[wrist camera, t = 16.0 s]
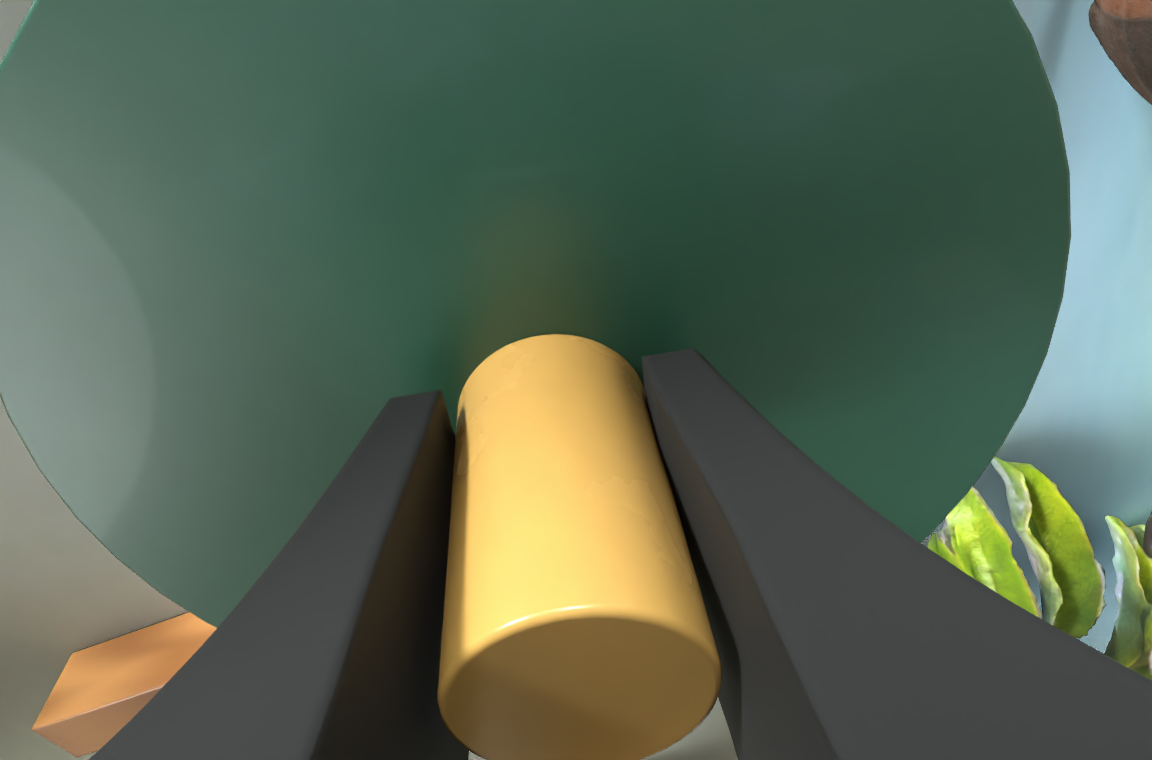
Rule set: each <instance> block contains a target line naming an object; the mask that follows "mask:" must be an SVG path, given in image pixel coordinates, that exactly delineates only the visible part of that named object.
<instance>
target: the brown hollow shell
mask: <svg viewBox="0 0 1152 760" xmlns="http://www.w3.org/2000/svg"><path fill="white" fill-rule="evenodd" d="M1089 22H1090V26H1091V29H1092V31H1093V32H1094V33H1095V35H1096V37H1097V38H1098V40H1099V42H1100V44H1101V46H1102V47H1103V49H1104V50H1105V52H1106V54H1107V55H1108V57H1109V58H1110V59H1111V61H1112V62H1113V63H1114V64H1115V66H1116V67H1117V68H1118V70H1119V72H1120V73H1121V74H1122V76H1123V77H1124V78H1125V79H1126V80H1127V81H1128V82H1129V84H1130V85H1131V86H1132V87H1133V88H1134V89H1135V90H1136V91H1137V92H1138V93H1139V94H1140V95H1141V96H1142V97H1143V98H1144V99H1145V100H1147V101H1148V102H1149V103H1150V104H1152V0H1095V1H1094V3H1093V4H1092V5H1091V8H1090V10H1089Z"/></svg>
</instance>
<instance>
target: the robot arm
mask: <svg viewBox="0 0 1152 760" xmlns="http://www.w3.org/2000/svg"><path fill="white" fill-rule="evenodd" d="M641 358H642V367H643V377H644V387H645V396H646V402H647V406H648V410H649V413H650V417H651V420H652V424H653V428H654V431H655V435H656V438H657V442H658V446H659V449H660V453H661V456H662V459H663V462H664V465H665V468H666V471H667V474H668V478H669V481H670V484H671V487H672V491H673V494H674V498H675V501H676V505H677V508H678V512H679V515H680V519H681V523H682V526H683V530H684V533H685V537H686V540H687V544H688V548H689V551H690V555H691V558H692V562H693V565H694V569H695V573H696V576H697V580H698V583H699V587H700V591H701V594H702V598H703V601H704V605H705V608H706V612H707V616H708V619H709V623H710V626H711V630H712V633H713V637H714V641H715V644H716V648H717V651H718V655H719V658H720V662H721V666H722V680H721V686H720V691H719V695H718V698H719V701H720V704H721V707H722V710H723V712H724V715H725V718H726V721H727V724H728V727H729V730H730V734H731V737H732V740H733V744H734V747H735V750H736V754H737V757H738V760H1152V680H1150V679H1148V678H1146V677H1144V676H1142V675H1140V674H1139V673H1137V672H1135V671H1133V670H1131V669H1129V668H1127V667H1126V666H1124V665H1122V664H1120V663H1118V662H1117V661H1115V660H1113V659H1111V658H1110V657H1108V656H1106V655H1104V654H1103V653H1101V652H1099V651H1097V650H1095V649H1094V648H1092V647H1090V646H1088V645H1087V644H1085V643H1083V642H1081V641H1080V640H1078V639H1076V638H1074V637H1072V636H1071V635H1069V634H1067V633H1065V632H1064V631H1062V630H1060V629H1058V628H1057V627H1055V626H1053V625H1051V624H1049V623H1048V622H1046V621H1044V620H1042V619H1041V618H1039V617H1037V616H1035V615H1034V614H1032V613H1030V612H1028V611H1026V610H1025V609H1023V608H1021V607H1019V606H1018V605H1016V604H1014V603H1013V602H1011V601H1009V600H1008V599H1006V598H1004V597H1003V596H1001V595H1000V594H998V593H996V592H995V591H993V590H992V589H990V588H988V587H987V586H985V585H984V584H982V583H980V582H979V581H977V580H976V579H974V578H972V577H971V576H969V575H968V574H966V573H965V572H963V571H962V570H960V569H959V568H957V567H956V566H954V565H953V564H951V563H950V562H948V561H947V560H945V559H944V558H942V557H941V556H939V555H938V554H936V553H935V552H933V551H932V550H930V549H929V548H927V547H926V546H924V545H923V544H921V543H920V542H918V541H917V540H916V539H914V538H913V537H911V536H910V535H909V534H907V533H906V532H904V531H903V530H902V529H900V528H899V527H897V526H896V525H895V524H893V523H892V522H891V521H889V520H888V519H887V518H885V517H884V516H882V515H881V514H880V513H878V512H877V511H876V510H874V509H873V508H872V507H870V506H869V505H868V504H867V503H865V502H864V501H863V500H861V499H860V498H859V497H858V496H856V495H855V494H854V493H852V492H851V491H850V490H849V489H847V488H846V487H845V486H843V485H842V484H841V483H840V482H838V481H837V480H836V479H835V478H833V477H832V476H831V475H830V474H829V473H827V472H826V471H825V470H824V469H823V468H821V467H820V466H819V465H818V464H816V463H815V462H814V461H813V460H812V459H811V458H809V457H808V456H807V455H806V454H805V453H804V452H803V451H801V450H800V449H799V448H798V447H797V446H796V445H795V444H793V443H792V442H791V441H790V440H789V439H788V438H787V437H785V436H784V435H783V434H782V433H781V432H780V431H779V430H777V429H776V428H775V427H774V426H773V425H772V424H771V423H770V422H769V421H768V420H766V419H765V418H764V417H763V416H762V415H761V414H760V413H759V412H758V411H757V410H756V409H755V408H754V407H753V406H752V405H751V404H750V403H749V402H748V401H747V400H745V399H744V398H743V397H742V396H741V395H740V394H739V393H738V392H737V391H736V390H735V389H734V388H733V387H732V386H731V385H730V384H729V383H728V382H727V381H726V380H725V379H724V378H723V377H722V376H721V374H720V373H719V372H718V371H717V370H716V369H715V368H714V367H713V366H712V365H711V364H710V363H709V362H708V361H707V360H706V359H705V357H704V356H703V355H701V354H700V353H699V352H697V351H696V350H695V349H693V348H691V349H685V350H679V351H673V352H667V353H661V354H655V355H648V356H642V357H641ZM455 439H456V437H455V434H454V430H453V427H452V424H451V421H450V417H449V414H448V411H447V407H446V404H445V401H444V398H443V394H442V391H441V390H436V391H430V392H424V393H418V394H412V395H406V396H400V397H394V398H390V399H389V401H388V402H387V403H386V405H385V406H384V407H383V409H382V410H381V412H380V413H379V414H378V416H377V417H376V418H375V420H374V421H373V423H372V424H371V426H370V427H369V429H368V430H367V431H366V433H365V434H364V436H363V437H362V439H361V440H360V442H359V443H358V445H357V446H356V448H355V449H354V450H353V452H352V453H351V455H350V456H349V458H348V459H347V461H346V462H345V463H344V465H343V466H342V468H341V469H340V471H339V472H338V474H337V475H336V476H335V478H334V479H333V481H332V482H331V484H330V485H329V486H328V488H327V489H326V490H325V492H324V493H323V495H322V496H321V497H320V499H319V500H318V501H317V503H316V504H315V506H314V507H313V508H312V510H311V511H310V512H309V514H308V515H307V517H306V518H305V519H304V521H303V522H302V523H301V525H300V526H299V528H298V529H297V530H296V532H295V533H294V534H293V536H292V537H291V538H290V540H289V541H288V542H287V544H286V545H285V546H284V547H283V549H282V550H281V551H280V552H279V554H278V555H277V556H276V557H275V559H274V560H273V561H272V562H271V564H270V565H269V566H268V567H267V569H266V570H265V571H264V572H263V574H262V575H261V576H260V577H259V579H258V580H257V581H256V582H255V584H254V585H253V586H252V587H251V589H250V590H249V591H248V592H247V594H246V595H245V596H244V597H243V599H242V600H241V601H240V602H239V604H238V605H237V606H236V607H235V608H234V609H233V611H232V612H231V613H230V614H229V615H228V616H227V618H226V619H225V620H224V621H223V622H222V623H221V624H220V626H219V627H218V628H217V629H216V630H215V631H214V632H213V633H212V635H211V636H210V637H209V638H208V639H207V640H206V641H205V642H204V643H203V645H202V646H201V647H200V648H199V649H198V650H197V651H196V652H195V653H194V654H193V655H192V657H191V658H190V659H189V660H188V661H187V662H186V663H185V664H184V665H183V666H182V667H181V668H180V669H179V670H178V671H177V672H176V674H175V675H174V676H173V677H172V678H171V679H170V680H169V681H168V682H167V683H166V684H165V685H164V686H163V687H162V688H161V689H160V691H159V692H158V693H157V694H156V695H155V696H154V697H153V698H152V699H151V700H150V701H149V702H148V703H147V704H146V705H145V706H144V707H143V708H142V709H141V710H140V711H139V712H138V713H137V714H136V715H135V716H134V717H133V718H132V719H131V720H130V721H129V722H128V723H127V724H126V725H125V726H124V727H123V728H122V729H121V730H120V731H119V732H118V733H117V734H116V735H114V736H113V737H112V738H111V739H110V740H109V741H108V742H107V743H106V744H105V745H104V746H103V747H102V748H101V749H100V750H99V751H98V752H97V753H96V754H95V755H93V756H92V757H91V758H90V759H89V760H468V755H469V750H468V749H466V748H465V747H463V746H462V745H461V744H460V743H459V742H458V741H457V740H456V739H455V738H453V736H452V735H451V734H450V732H449V731H448V729H447V728H446V726H445V724H444V722H443V719H442V717H441V715H440V712H439V707H438V703H437V691H438V677H439V663H440V649H441V635H442V621H443V607H444V593H445V579H446V565H447V551H448V537H449V523H450V509H451V495H452V481H453V467H454V453H455Z"/></svg>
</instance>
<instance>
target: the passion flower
mask: <svg viewBox="0 0 1152 760" xmlns="http://www.w3.org/2000/svg"><path fill="white" fill-rule="evenodd" d="M991 462H992V464H993V467H994V468H995V469H996V470H997V472H998V473H999V475H1000V476H1001V477H1002V478H1003V480H1004V483H1005V487H1006V496H1007V501H1008V505H1009V508H1010V518H1011V522H1012V525H1013V527H1014V529H1015V531H1016V533H1017V535H1018V536H1019V538H1020V539H1021V541H1022V543H1023V544H1024V546H1025V549H1026V552H1027V555H1028V558H1029V561H1030V563H1031V566H1032V568H1033V571H1034V573H1035V575H1036V578H1037V580H1038V582H1039V588H1040V594H1041V606H1042V612H1041V610H1040V609H1039V608H1038V601H1037V598H1036V596H1035V595H1034V593H1033V592H1032V591H1031V589H1030V586H1029V582H1028V581H1027V580H1026V578H1025V577H1024V574H1023V570H1022V569H1021V568H1020V567H1019V566H1018V564H1017V562H1016V561H1015V559H1014V558H1013V556H1012V553H1011V549H1012V545H1013V542H1012V541H1011V539H1010V537H1009V535H1008V533H1007V532H1006V530H1005V529H1004V528H1003V526H1002V525H1001V524H1000V523H999V521H998V520H997V518H996V517H995V516H994V513H993V510H992V509H990V508H989V507H988V505H987V504H986V503H985V501H984V500H983V498H982V497H981V496H980V493H979V492H978V491H977V490H976V489H975V488H973V487H972V488H971V489H970V491H969V492H968V493H967V495H966V496H965V497H964V498H963V499H962V500H961V501H960V502H959V503H958V505H957V506H956V507H955V508H954V509H953V510H952V511H951V512H950V513H949V514H948V515H947V517H946V518H945V523H944V526H943V527H942V529H941V530H940V531H939V532H938V533H934V534H933V535H932V536H931V539H930V540H929V541H928V544H927V548H929V549H930V550H932V551H933V552H935V553H936V554H938V555H939V556H941V557H942V558H944V559H945V560H947V561H948V562H950V563H951V564H953V565H954V566H956V567H957V568H959V569H960V570H962V571H963V572H965V573H966V574H968V575H969V576H971V577H972V578H974V579H976V580H977V581H979V582H980V583H982V584H984V585H985V586H987V587H988V588H990V589H992V590H993V591H995V592H996V593H998V594H1000V595H1001V596H1003V597H1004V598H1006V599H1008V600H1009V601H1011V602H1013V603H1014V604H1016V605H1018V606H1019V607H1021V608H1023V609H1025V610H1026V611H1028V612H1030V613H1032V614H1034V615H1035V616H1037V617H1039V618H1041V619H1042V620H1044V621H1046V622H1048V623H1049V624H1051V625H1053V626H1055V627H1057V628H1058V629H1060V630H1062V631H1064V632H1065V633H1067V634H1069V635H1071V636H1072V637H1074V638H1081V637H1082V636H1083V635H1085V636H1087V634H1088V631H1089V629H1091V628H1092V626H1094V625H1095V623H1096V620H1097V619H1098V618H1099V616H1100V615H1101V613H1102V610H1103V608H1104V607H1105V606H1106V603H1105V600H1104V592H1105V588H1106V585H1105V571H1104V568H1103V566H1102V565H1101V564H1099V563H1098V562H1097V560H1096V559H1095V557H1094V549H1093V547H1092V545H1091V542H1090V540H1089V538H1088V536H1087V533H1086V531H1085V528H1084V525H1083V523H1082V521H1081V519H1080V518H1079V516H1078V515H1077V514H1076V512H1075V511H1074V510H1073V508H1072V507H1071V505H1070V504H1069V503H1068V501H1066V500H1065V499H1064V498H1063V497H1062V495H1061V494H1060V491H1059V489H1058V486H1057V484H1055V483H1053V482H1052V481H1051V480H1050V479H1049V478H1048V477H1047V476H1046V475H1045V474H1043V473H1042V472H1040V471H1039V470H1038V469H1036V468H1035V467H1034V466H1033V465H1032V464H1029V463H1018V462H1005V461H1003V460H1001V459H999V458H998V457H994V458H993V459H992V461H991ZM1105 520H1106V522H1107V524H1108V527H1109V530H1110V533H1111V537H1112V540H1113V542H1114V548H1115V555H1114V557H1113V559H1112V562H1113V564H1114V569H1115V572H1116V576H1117V583H1116V586H1115V588H1114V593H1115V595H1116V598H1117V603H1118V608H1117V611H1116V621H1115V625H1114V630H1113V634H1112V637H1111V640H1110V642H1109V644H1108V646H1107V649H1106V651H1105V653H1104V655H1106V656H1108V657H1110V658H1111V659H1113V660H1115V661H1117V662H1118V663H1120V664H1122V665H1124V666H1126V667H1127V668H1129V669H1131V670H1133V671H1135V672H1137V673H1139V674H1140V675H1142V676H1144V677H1146V678H1148V679H1150V680H1152V512H1151V514H1150V516H1149V518H1148V520H1147V523H1146V525H1142V524H1139V525H1135V526H1130V527H1128V526H1126V525H1125V524H1124V523H1123V522H1122V521H1121V520H1120V519H1119V518H1117V517H1113V516H1110V515H1107V516H1106V517H1105Z"/></svg>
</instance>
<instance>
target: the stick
mask: <svg viewBox="0 0 1152 760" xmlns="http://www.w3.org/2000/svg"><path fill="white" fill-rule="evenodd" d="M216 629H217V628H216V627H214V626H212V625H210V624H208V623H206V622H204V621H203V620H201V619H200V618H198V617H197V616H195V615H193V614H192V613H190V612H189V613H186V614H183V615H180V616H177V617H174V618H171V619H169V620H166V621H163V622H160V623H157V624H154V625H151V626H149V627H146V628H143V629H140V630H137V631H134V632H131V633H129V634H126V635H123V636H120V637H117V638H114V639H111V640H109V641H106V642H103V643H100V644H97V645H94V646H92V647H89V648H86V649H83V650H80V651H77V652H74V653H73V654H72V655H71V656H70V658H69V660H68V662H67V664H66V666H65V667H64V669H63V671H62V673H61V675H60V677H59V679H58V681H57V682H56V684H55V686H54V688H53V690H52V692H51V694H50V695H49V697H48V699H47V701H46V703H45V705H44V707H43V709H42V710H41V712H40V714H39V716H38V718H37V720H36V722H35V723H34V725H33V727H32V730H33V731H35V732H36V733H38V734H40V735H41V736H43V737H44V738H46V739H48V740H49V741H51V742H53V743H54V744H56V745H57V746H59V747H61V748H62V749H64V750H66V751H67V752H69V753H71V754H72V755H74V756H75V757H80V756H83V755H86V754H89V753H92V752H95V751H98V750H100V749H101V748H102V747H103V746H104V745H105V744H106V743H107V742H108V741H109V740H110V739H111V738H112V737H113V736H114V735H116V734H117V733H118V732H119V731H120V730H121V729H122V728H123V727H124V726H125V725H126V724H127V723H128V722H129V721H130V720H131V719H132V718H133V717H134V716H135V715H136V714H137V713H138V712H139V711H140V710H141V709H142V708H143V707H144V706H145V705H146V704H147V703H148V702H149V701H150V700H151V699H152V698H153V697H154V696H155V695H156V694H157V693H158V692H159V691H160V689H161V688H162V687H163V686H164V685H165V684H166V683H167V682H168V681H169V680H170V679H171V678H172V677H173V676H174V675H175V674H176V672H177V671H178V670H179V669H180V668H181V667H182V666H183V665H184V664H185V663H186V662H187V661H188V660H189V659H190V658H191V657H192V655H193V654H194V653H195V652H196V651H197V650H198V649H199V648H200V647H201V646H202V645H203V643H204V642H205V641H206V640H207V639H208V638H209V637H210V636H211V635H212V633H213V632H214V631H215V630H216Z"/></svg>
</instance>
